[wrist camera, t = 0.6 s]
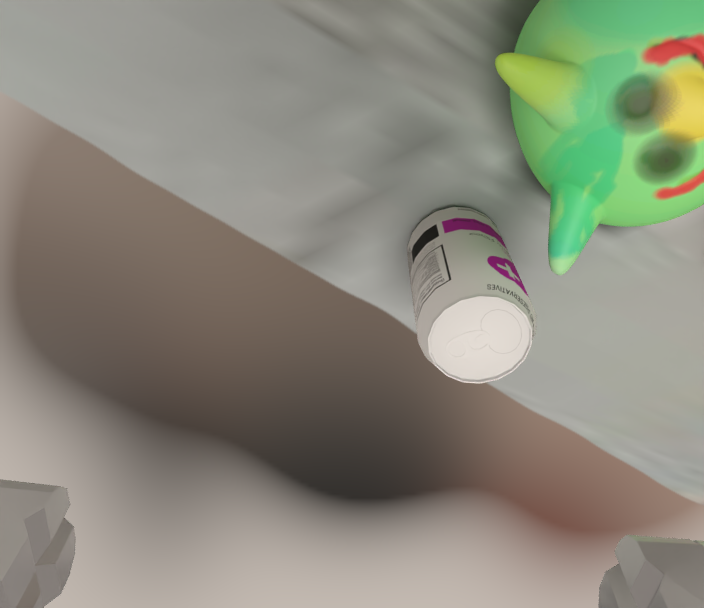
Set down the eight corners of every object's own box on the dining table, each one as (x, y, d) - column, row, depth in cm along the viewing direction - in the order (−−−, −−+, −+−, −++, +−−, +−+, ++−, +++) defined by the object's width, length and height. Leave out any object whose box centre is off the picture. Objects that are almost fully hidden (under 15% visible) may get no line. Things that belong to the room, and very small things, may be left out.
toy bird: (726, 140, 51) (847, 207, 38) (521, 222, 54) (569, 307, 42) (683, -103, 43) (818, -121, 30) (447, 12, 47) (477, 39, 34)
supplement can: (480, 188, 53) (517, 268, 40) (513, 268, 57) (557, 366, 44) (391, 227, 55) (399, 316, 42) (428, 302, 59) (446, 405, 46)
